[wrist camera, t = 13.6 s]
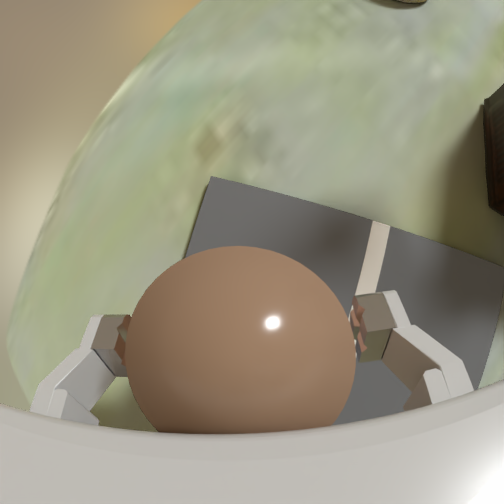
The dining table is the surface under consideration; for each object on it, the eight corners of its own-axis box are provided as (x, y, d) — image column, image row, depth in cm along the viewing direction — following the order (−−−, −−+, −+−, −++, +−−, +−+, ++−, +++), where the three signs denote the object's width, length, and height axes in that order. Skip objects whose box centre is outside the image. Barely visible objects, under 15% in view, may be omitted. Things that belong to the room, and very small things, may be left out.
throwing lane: (502, 269, 18) (507, 268, 18) (442, 459, 17) (445, 462, 16) (212, 179, 20) (211, 175, 20) (151, 397, 19) (147, 400, 18)
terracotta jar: (310, 287, 19) (383, 282, 7) (285, 370, 18) (311, 484, 6) (225, 262, 19) (158, 219, 7) (201, 346, 18) (109, 422, 7)
